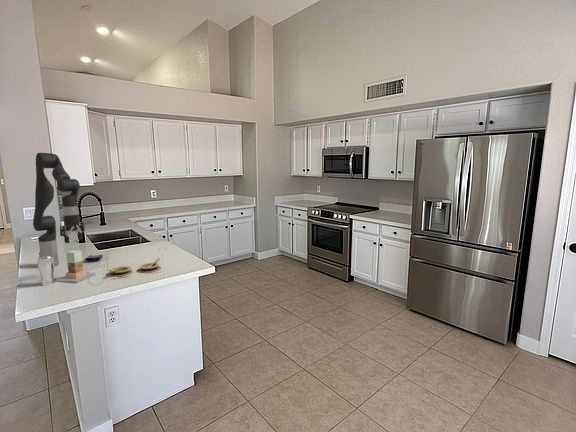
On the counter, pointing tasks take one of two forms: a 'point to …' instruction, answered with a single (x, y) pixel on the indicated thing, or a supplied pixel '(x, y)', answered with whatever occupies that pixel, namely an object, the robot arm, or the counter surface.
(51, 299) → the counter surface
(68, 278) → the plate
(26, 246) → the counter surface
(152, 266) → the tableware set
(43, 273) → the beer glass
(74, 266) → the block
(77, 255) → the block
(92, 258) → the purple clover wallet
